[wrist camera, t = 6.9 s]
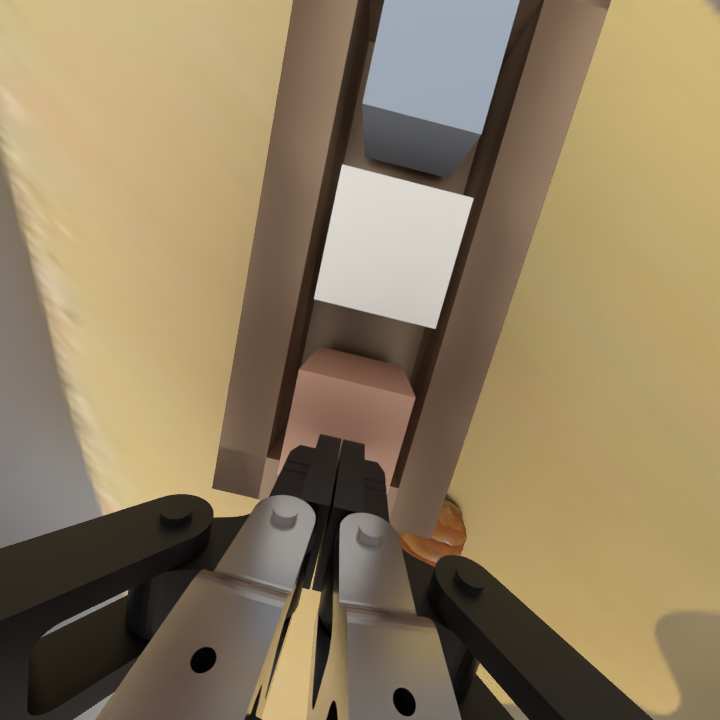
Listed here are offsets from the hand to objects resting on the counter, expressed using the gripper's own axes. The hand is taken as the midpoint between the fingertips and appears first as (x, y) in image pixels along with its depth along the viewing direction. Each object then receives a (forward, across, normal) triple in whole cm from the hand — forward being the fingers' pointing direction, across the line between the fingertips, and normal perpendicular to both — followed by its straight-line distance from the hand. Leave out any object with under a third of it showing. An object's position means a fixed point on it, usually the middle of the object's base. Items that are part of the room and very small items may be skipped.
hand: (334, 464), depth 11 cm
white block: (+7, 0, -7) cm, 10 cm away
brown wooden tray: (+11, 0, -7) cm, 13 cm away
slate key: (+9, 0, -14) cm, 17 cm away
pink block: (+7, 0, 0) cm, 7 cm away
